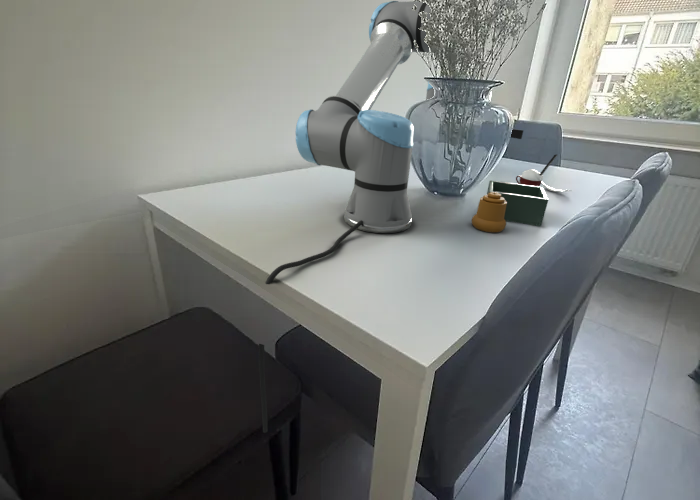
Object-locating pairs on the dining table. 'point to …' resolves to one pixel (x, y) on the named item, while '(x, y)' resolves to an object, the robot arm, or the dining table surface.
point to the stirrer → (553, 189)
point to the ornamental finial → (490, 213)
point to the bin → (521, 202)
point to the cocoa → (533, 175)
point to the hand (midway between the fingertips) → (511, 136)
